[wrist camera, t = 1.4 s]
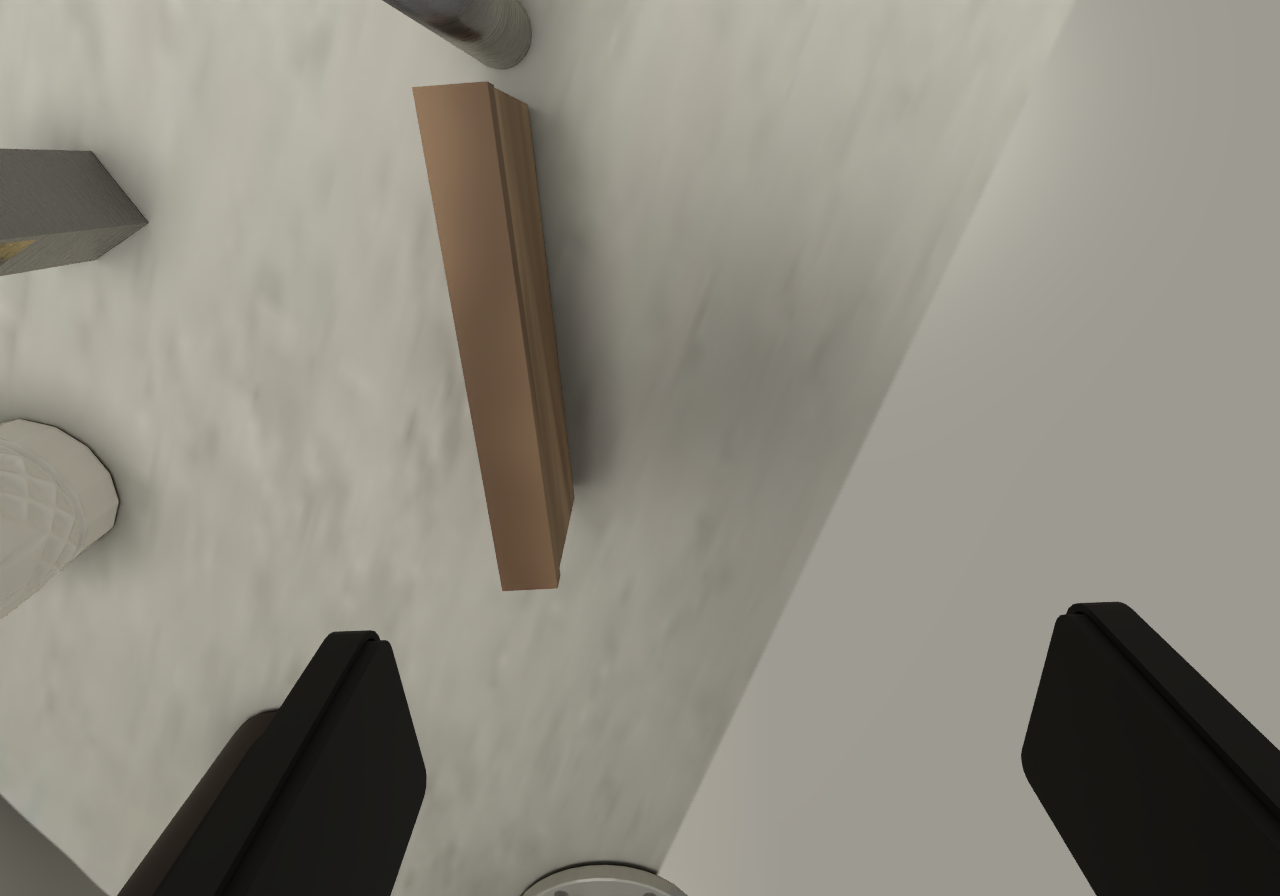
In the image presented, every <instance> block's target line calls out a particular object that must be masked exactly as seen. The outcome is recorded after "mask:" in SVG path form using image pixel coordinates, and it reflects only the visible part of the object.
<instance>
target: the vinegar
mask: <svg viewBox="0 0 1280 896" xmlns="http://www.w3.org/2000/svg"><path fill="white" fill-rule="evenodd" d="M277 712H278V711H276V712H270V713H264V714H260V715H258V716H256V717H254V718H252V719H250V720H248V721H246V722H245V723H243V724H242V726H241V727H240V728H239V729H238V730H237V731H236V733H235V734H234V735H233V736H232V738H231V739H230V740H229V742H228V743H227V745H226V746H225V747H224V749H223V750H222V751H221V753H220V754H219V756H218V757H217V758H216V760H215V761H214V763H213V764H212V765H211V767H210V768H209V769H208V771H207V772H206V774H205V775H204V776H203V778H202V779H201V780H200V782H199V783H198V785H197V786H196V787H195V789H194V790H193V791H192V793H191V794H190V796H189V797H188V798H187V800H186V801H185V803H184V804H183V805H182V807H181V808H180V809H179V811H178V812H177V814H176V815H175V816H174V818H173V819H172V820H171V822H170V823H169V825H168V826H167V827H166V829H165V830H164V832H163V833H162V834H161V836H160V837H159V838H158V840H157V841H156V843H155V844H154V845H153V847H152V848H151V849H150V851H149V852H148V854H147V855H146V856H145V858H144V859H143V861H142V862H141V863H140V865H139V866H138V867H137V869H136V870H135V872H134V873H133V874H132V876H131V877H130V878H129V880H128V881H127V883H126V884H125V885H124V887H123V888H122V889H121V891H120V892H119V894H118V895H117V896H152V895H153V893H154V892H155V890H156V889H157V887H158V886H159V884H160V883H161V881H162V880H163V878H164V877H165V875H166V874H167V872H168V871H169V869H170V868H171V866H172V865H173V863H174V862H175V860H176V858H177V857H178V855H179V854H180V852H181V851H182V849H183V848H184V846H185V845H186V843H187V842H188V840H189V839H190V837H191V836H192V834H193V833H194V831H195V830H196V828H197V827H198V825H199V824H200V822H201V821H202V819H203V818H204V816H205V814H206V813H207V811H208V810H209V808H210V807H211V805H212V804H213V802H214V801H215V799H216V798H217V796H218V795H219V793H220V792H221V790H222V789H223V787H224V786H225V784H226V783H227V781H228V780H229V778H230V777H231V775H232V774H233V772H234V771H235V769H236V767H237V766H238V764H239V763H240V761H241V760H242V758H243V757H244V755H245V754H246V752H247V751H248V749H249V748H250V747H251V746H252V744H253V743H254V742H255V741H256V740H257V738H259V737H260V736H262V735H263V733H264V732H265V730H266V729H267V727H268V725H269V724H270V722H271V721H272V719H273V718H274V716H275V715H276V713H277Z"/></svg>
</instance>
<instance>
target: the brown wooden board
mask: <svg viewBox="0 0 1280 896" xmlns="http://www.w3.org/2000/svg"><path fill="white" fill-rule="evenodd" d="M412 89H413V95H414V100H415V106H416V111H417V117H418V123H419V128H420V134H421V139H422V145H423V151H424V156H425V162H426V167H427V173H428V178H429V184H430V190H431V195H432V201H433V206H434V212H435V217H436V223H437V229H438V234H439V240H440V245H441V251H442V257H443V262H444V268H445V273H446V279H447V284H448V290H449V296H450V301H451V307H452V312H453V318H454V323H455V329H456V335H457V340H458V346H459V351H460V357H461V363H462V368H463V374H464V379H465V385H466V390H467V396H468V402H469V407H470V413H471V418H472V424H473V429H474V435H475V441H476V446H477V452H478V457H479V463H480V468H481V474H482V480H483V485H484V491H485V496H486V502H487V508H488V513H489V519H490V524H491V530H492V535H493V541H494V547H495V552H496V558H497V563H498V569H499V574H500V580H501V586H502V591H513V590H532V589H552V588H558V584H559V579H560V569H559V567H560V562H561V558H562V553H563V548H564V544H565V539H566V534H567V530H568V525H569V520H570V516H571V511H572V507H573V502H574V490H573V482H572V473H571V465H570V457H569V448H568V440H567V431H566V423H565V415H564V406H563V398H562V389H561V381H560V373H559V364H558V356H557V348H556V339H555V331H554V322H553V314H552V306H551V297H550V289H549V280H548V272H547V264H546V255H545V247H544V238H543V230H542V222H541V213H540V205H539V197H538V188H537V180H536V171H535V163H534V155H533V146H532V138H531V129H530V121H529V113H528V105H527V104H525V103H523V102H521V101H519V100H518V99H516V98H514V97H512V96H510V95H508V94H506V93H504V92H502V91H500V90H498V89H496V88H494V85H493V84H491V83H489V82H475V83H462V84H449V85H436V86H423V87H412Z"/></svg>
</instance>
